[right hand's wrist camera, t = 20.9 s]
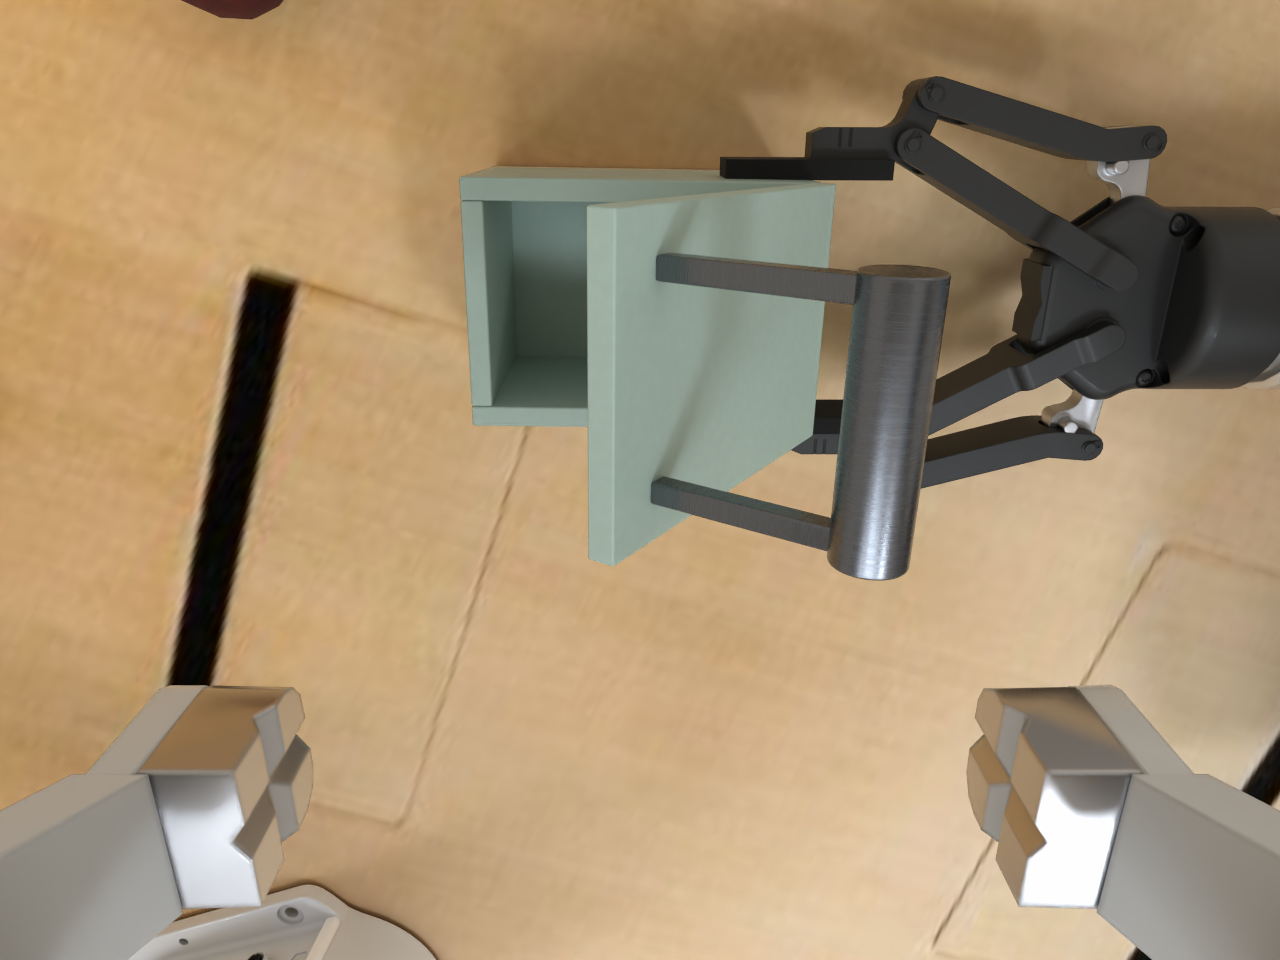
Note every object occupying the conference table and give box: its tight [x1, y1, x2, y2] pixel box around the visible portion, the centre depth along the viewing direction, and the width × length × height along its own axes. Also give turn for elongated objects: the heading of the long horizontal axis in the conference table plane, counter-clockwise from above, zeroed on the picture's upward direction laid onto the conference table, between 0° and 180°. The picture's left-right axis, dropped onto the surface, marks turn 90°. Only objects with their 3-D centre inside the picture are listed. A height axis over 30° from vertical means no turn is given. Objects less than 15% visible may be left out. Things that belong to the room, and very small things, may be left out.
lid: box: [587, 183, 951, 580], centre depth 27 cm, size 14×10×8 cm
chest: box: [459, 166, 820, 427], centre depth 39 cm, size 14×10×10 cm
